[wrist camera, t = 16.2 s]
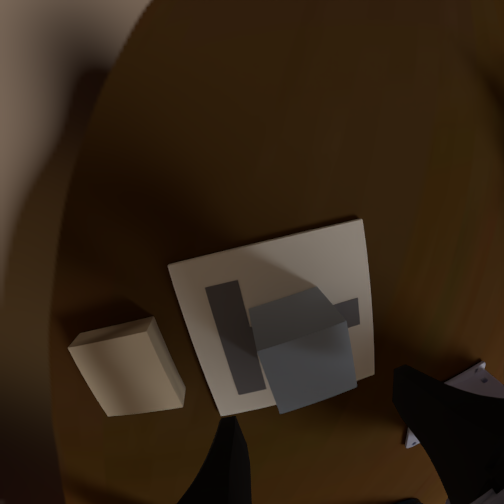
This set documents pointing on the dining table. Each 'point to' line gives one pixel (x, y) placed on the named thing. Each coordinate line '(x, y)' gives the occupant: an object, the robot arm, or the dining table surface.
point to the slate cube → (303, 349)
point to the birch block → (129, 368)
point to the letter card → (266, 290)
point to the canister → (410, 501)
